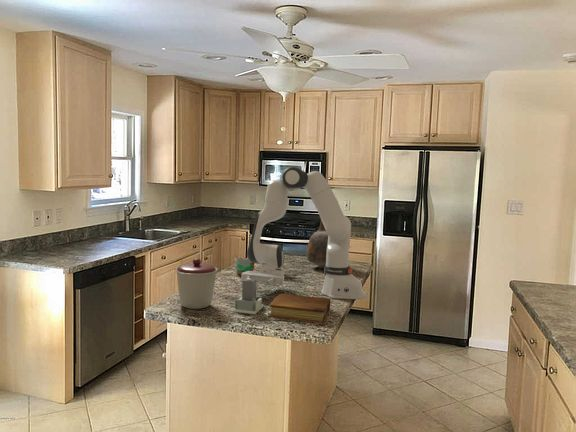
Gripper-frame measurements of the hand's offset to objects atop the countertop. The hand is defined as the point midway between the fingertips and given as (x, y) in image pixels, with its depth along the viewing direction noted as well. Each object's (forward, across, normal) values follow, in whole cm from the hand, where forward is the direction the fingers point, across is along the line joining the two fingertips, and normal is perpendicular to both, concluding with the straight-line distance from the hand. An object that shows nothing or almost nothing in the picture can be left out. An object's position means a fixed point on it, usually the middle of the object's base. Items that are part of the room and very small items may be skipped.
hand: (258, 281), depth 215 cm
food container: (-44, -23, +10) cm, 51 cm away
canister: (+16, -23, +10) cm, 30 cm away
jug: (-82, +16, +10) cm, 84 cm away
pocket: (+12, 0, +9) cm, 15 cm away
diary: (+9, +22, +10) cm, 26 cm away
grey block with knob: (+12, 0, +8) cm, 15 cm away
